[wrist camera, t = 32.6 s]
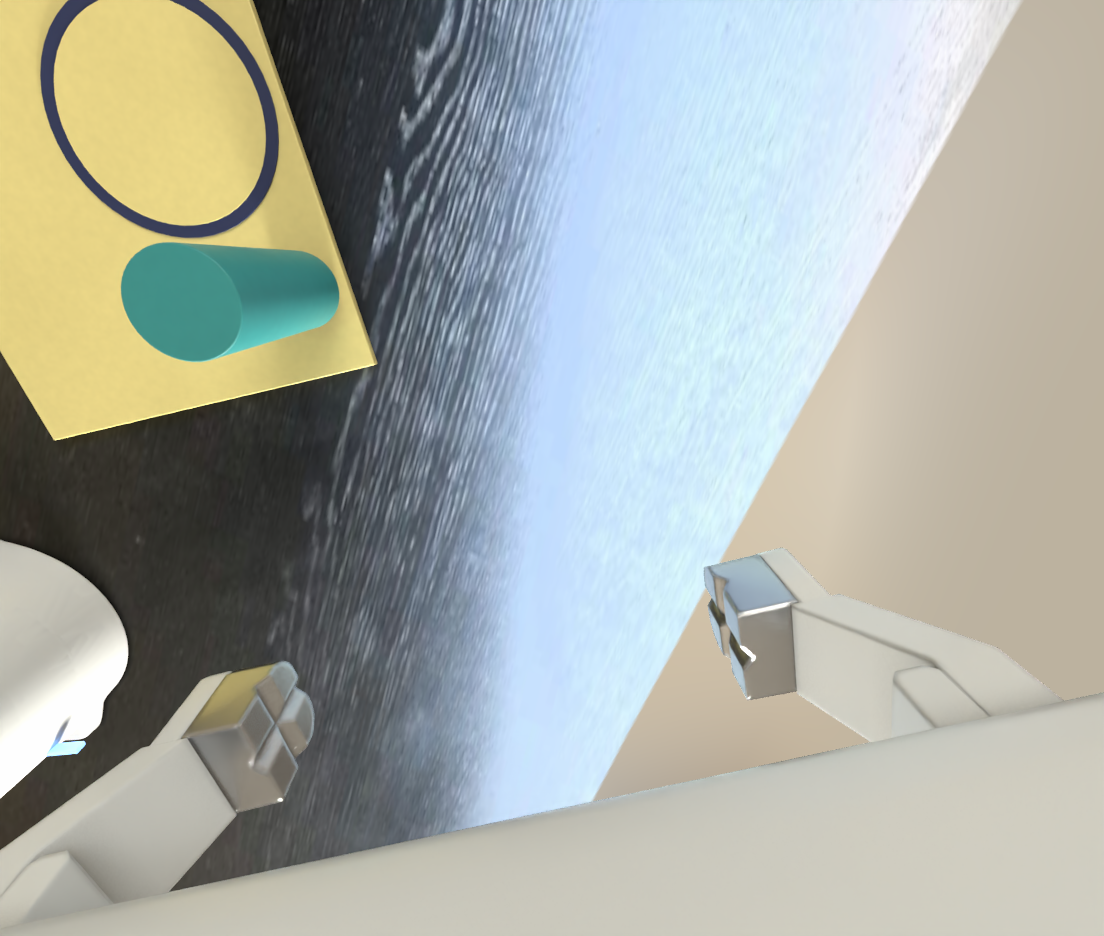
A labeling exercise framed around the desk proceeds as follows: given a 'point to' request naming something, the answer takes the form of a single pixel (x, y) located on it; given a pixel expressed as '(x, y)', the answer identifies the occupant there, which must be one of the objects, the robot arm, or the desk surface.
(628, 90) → the desk surface
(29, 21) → the writing pad
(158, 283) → the cylinder
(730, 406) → the desk surface
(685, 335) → the desk surface
